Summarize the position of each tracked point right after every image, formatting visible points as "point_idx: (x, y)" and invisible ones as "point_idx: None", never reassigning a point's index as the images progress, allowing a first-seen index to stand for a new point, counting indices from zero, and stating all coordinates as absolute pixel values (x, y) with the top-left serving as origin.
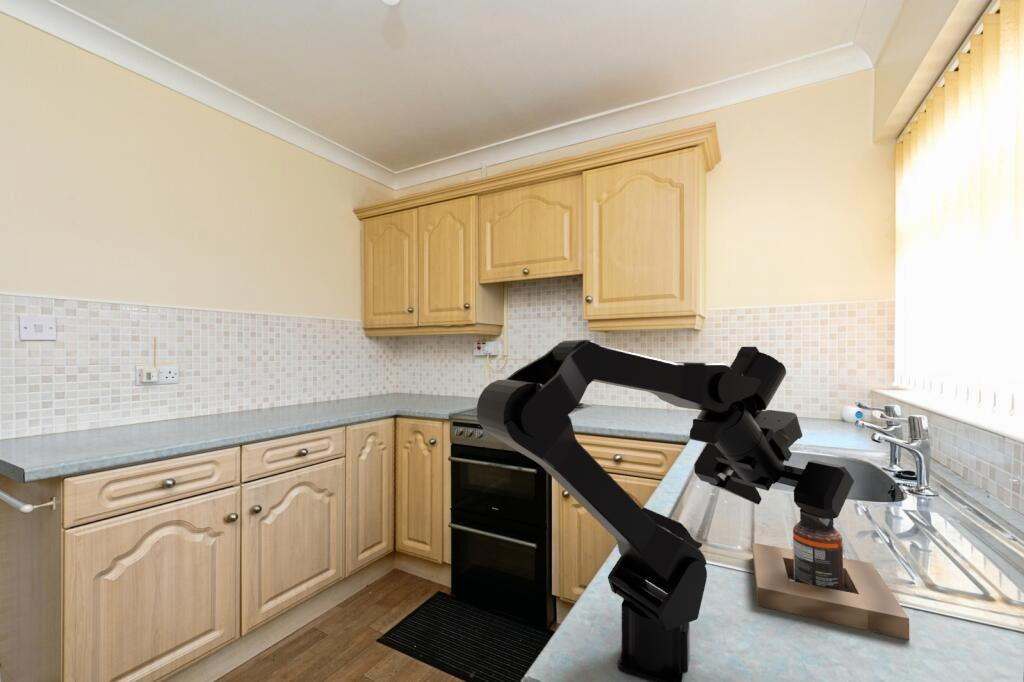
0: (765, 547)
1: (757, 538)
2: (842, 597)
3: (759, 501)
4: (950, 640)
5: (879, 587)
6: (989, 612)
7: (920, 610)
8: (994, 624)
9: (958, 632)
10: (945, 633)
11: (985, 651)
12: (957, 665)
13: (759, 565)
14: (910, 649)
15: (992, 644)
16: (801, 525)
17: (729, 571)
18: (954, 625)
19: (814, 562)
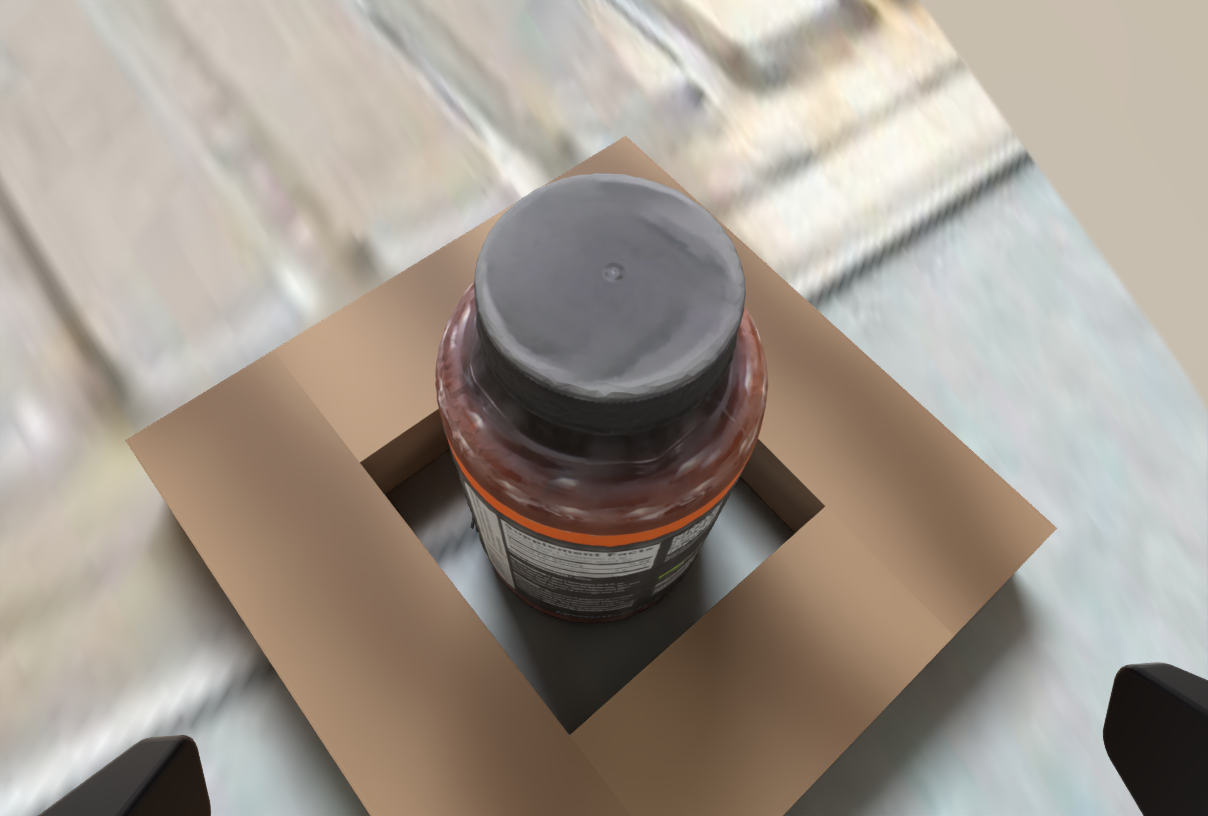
0: (216, 429)
1: (55, 233)
2: (823, 628)
3: (195, 795)
4: (1037, 410)
5: (804, 345)
6: (928, 101)
7: (853, 280)
8: (988, 168)
9: (1001, 325)
10: (997, 374)
11: (1113, 377)
12: (1173, 575)
13: (343, 719)
14: (1060, 632)
15: (1082, 308)
16: (542, 443)
17: None
18: (963, 286)
19: (660, 565)
